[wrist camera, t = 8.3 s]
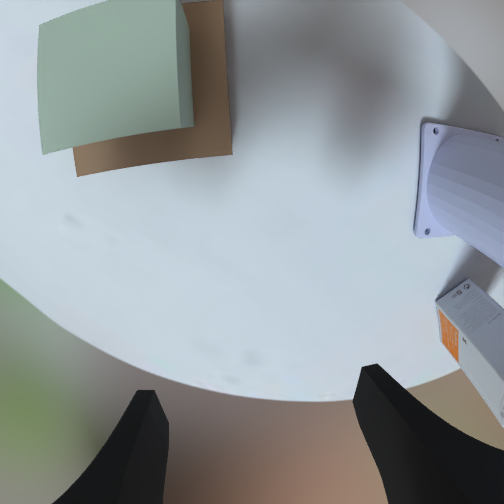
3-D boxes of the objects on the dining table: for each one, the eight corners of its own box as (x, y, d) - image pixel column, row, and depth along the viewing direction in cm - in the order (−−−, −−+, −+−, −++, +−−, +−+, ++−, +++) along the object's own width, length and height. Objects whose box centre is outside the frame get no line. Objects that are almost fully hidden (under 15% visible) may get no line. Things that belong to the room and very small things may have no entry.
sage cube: (189, 28, 11) (175, -14, 6) (194, 126, 13) (180, 127, 8) (90, 48, 11) (39, 25, 6) (94, 142, 13) (42, 154, 8)
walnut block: (222, 18, 13) (222, -1, 10) (230, 149, 17) (232, 154, 14) (88, 42, 13) (67, 32, 10) (98, 167, 16) (77, 176, 13)
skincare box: (433, 301, 22) (516, 398, 11) (468, 276, 22) (556, 358, 11) (438, 342, 25) (502, 430, 14) (470, 320, 24) (538, 397, 13)
